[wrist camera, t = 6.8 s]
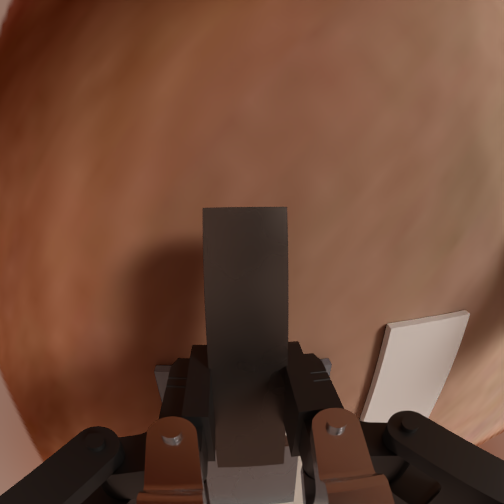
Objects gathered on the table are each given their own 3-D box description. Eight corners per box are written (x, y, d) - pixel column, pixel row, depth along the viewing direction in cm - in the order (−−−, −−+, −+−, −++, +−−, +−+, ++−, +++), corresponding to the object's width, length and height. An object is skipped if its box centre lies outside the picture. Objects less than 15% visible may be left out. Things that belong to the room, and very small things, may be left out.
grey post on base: (188, 218, 11) (174, 209, 8) (292, 216, 12) (313, 207, 9) (208, 481, 12) (207, 522, 9) (287, 477, 12) (297, 516, 9)
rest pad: (386, 323, 16) (391, 328, 15) (465, 310, 17) (470, 313, 16) (345, 457, 20) (346, 462, 19) (411, 438, 21) (414, 442, 20)
